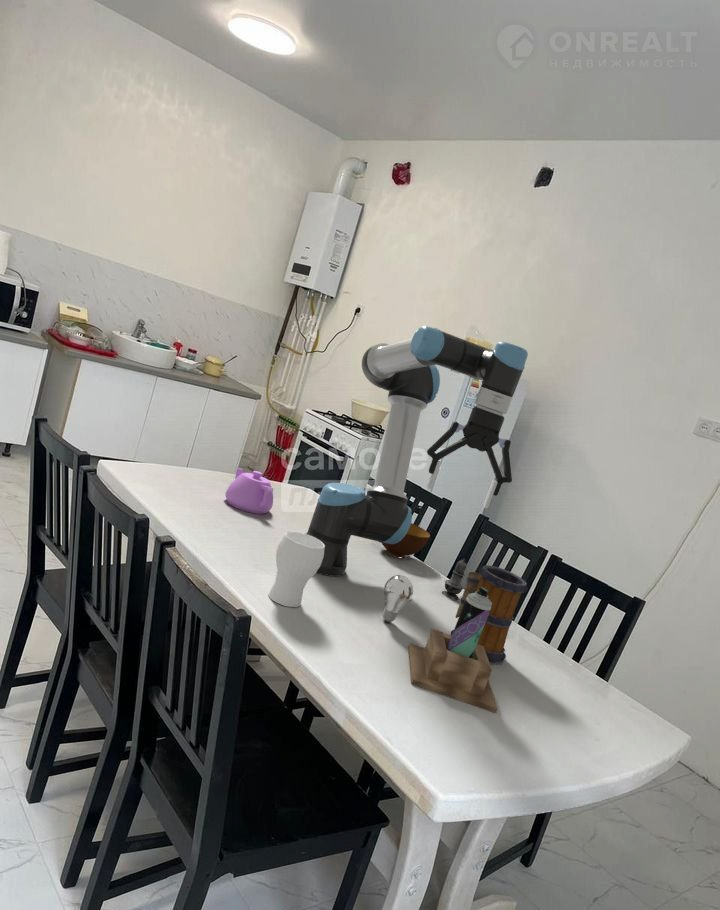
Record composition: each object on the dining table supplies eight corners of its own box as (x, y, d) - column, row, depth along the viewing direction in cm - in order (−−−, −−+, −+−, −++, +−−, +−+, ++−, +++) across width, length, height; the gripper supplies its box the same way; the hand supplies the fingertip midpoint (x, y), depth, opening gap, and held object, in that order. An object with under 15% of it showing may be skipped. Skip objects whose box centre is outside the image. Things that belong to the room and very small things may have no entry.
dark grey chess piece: (459, 602, 202) (473, 564, 200) (440, 594, 203) (454, 557, 201) (459, 596, 208) (473, 559, 206) (441, 589, 208) (455, 552, 207)
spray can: (437, 664, 150) (469, 580, 147) (460, 671, 150) (492, 587, 148) (441, 676, 144) (475, 589, 142) (466, 683, 145) (499, 597, 142)
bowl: (361, 547, 223) (372, 519, 222) (379, 540, 240) (389, 513, 238) (411, 569, 218) (422, 540, 216) (426, 560, 234) (436, 533, 233)
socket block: (411, 683, 139) (423, 652, 138) (408, 647, 156) (418, 619, 155) (496, 712, 139) (508, 681, 138) (483, 672, 157) (494, 644, 156)
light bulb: (403, 623, 170) (420, 579, 168) (396, 631, 163) (413, 585, 161) (378, 612, 172) (394, 567, 170) (369, 619, 165) (386, 573, 163)
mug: (428, 622, 177) (455, 550, 174) (473, 629, 183) (500, 560, 180) (467, 662, 160) (498, 583, 157) (515, 668, 166) (545, 592, 163)
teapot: (283, 521, 222) (295, 486, 221) (243, 517, 212) (255, 480, 210) (249, 496, 238) (260, 464, 237) (210, 491, 228) (221, 457, 226)
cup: (314, 604, 162) (334, 546, 160) (292, 614, 152) (313, 552, 150) (277, 585, 166) (296, 528, 164) (253, 594, 156) (274, 532, 154)
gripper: (438, 393, 153) (406, 482, 156) (545, 430, 153) (511, 518, 156) (436, 391, 160) (405, 477, 163) (537, 427, 160) (505, 511, 163)
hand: (457, 497), depth 160 cm, fingers open, 13 cm apart
